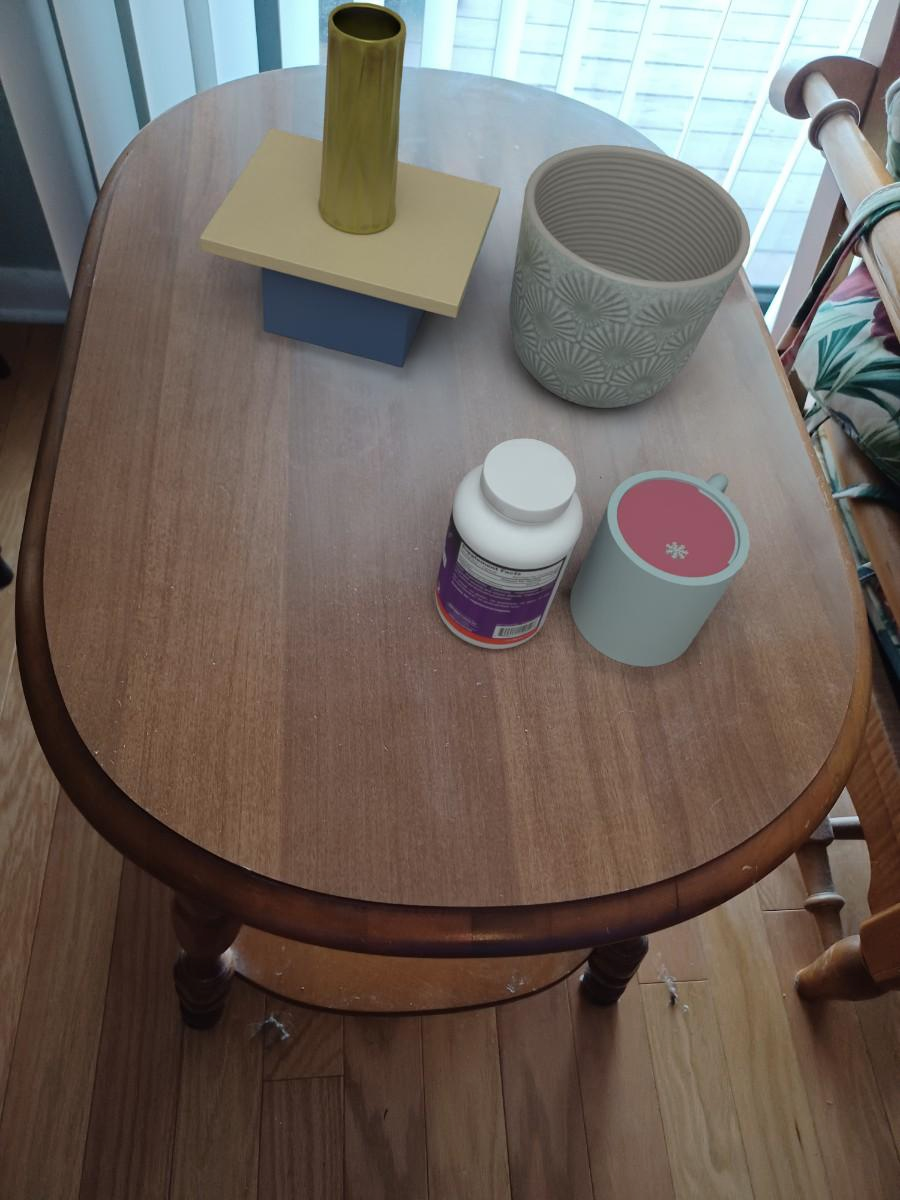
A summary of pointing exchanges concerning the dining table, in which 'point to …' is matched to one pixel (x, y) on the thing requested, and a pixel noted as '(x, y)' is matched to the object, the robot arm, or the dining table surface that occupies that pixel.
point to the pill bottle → (508, 544)
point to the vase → (361, 117)
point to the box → (350, 250)
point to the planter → (619, 271)
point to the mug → (658, 566)
